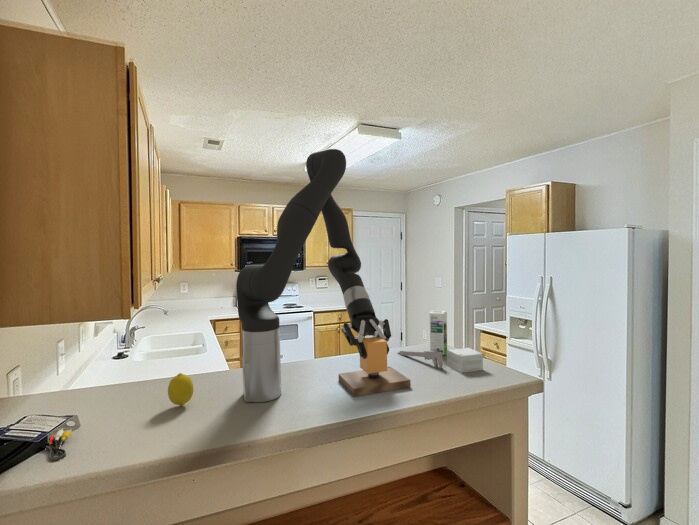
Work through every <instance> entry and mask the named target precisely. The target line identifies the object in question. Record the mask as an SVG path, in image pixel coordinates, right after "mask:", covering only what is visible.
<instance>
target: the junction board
mask: <svg viewBox="0 0 699 525" xmlns="http://www.w3.org/2000/svg"><path fill="white" fill-rule="evenodd" d="M339 381H340V382H339ZM338 382H339V383H340V384H341V385H342V386H343V387H344V388H345V389H346V390H347V391H348V392H349V393H350V395H352V397H354V398H357V397H361V396H367V395H373V394H379V393H385V392H391V391H396V390H403V389H407V388H411V387H412V386H411V384H412V383H411V379H410V378H409V377H408V376H406V375H404V374H403V373H401V372H399V371H397V369H394V368H393V367H391V365H390V366H387V371H383V372H379V378H376V379H371V378H368V373H366V372H365V371H364V370H363V369H360V370H356V371H348V372H343V373H342V372H341V373H338Z"/></svg>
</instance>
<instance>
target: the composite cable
mask: <svg viewBox="0 0 699 525" xmlns="http://www.w3.org/2000/svg"><path fill="white" fill-rule="evenodd" d="M72 430H73V429H71V428H70V430H69V429H68V430H66V431H64V428H61V429H59V430H57V431H56V433H55V434H53V436H51V438H50V440H49V445H46V450H45V451H47V452H49V453H50V454H49V459H50V460H51V462H58V461H60V459H61V460H64V459H65V458H66V457H67V453H66V450H65V449H64V448H61V447H60V445H61V443H62V442H63V443H64V441H65V440H68V439H69V437H71V435H72ZM63 443H62V444H63ZM59 447H60V449H59ZM57 453H58V455H59V456H55V455H54V454H57ZM60 454H61V455H60ZM64 457H65V458H64Z"/></svg>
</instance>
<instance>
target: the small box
mask: <svg viewBox="0 0 699 525" xmlns="http://www.w3.org/2000/svg"><path fill="white" fill-rule="evenodd" d="M446 361H447V362H446V365H447V366H448V367H450V368H452V369H454V370H455V371H457V372H459V373H468V372H477V371H483V370H484V365H483V364H484V356H483V353H482V352H479V351H478V350H474V349H472V348H470V347H463V348H461V347H460V348H451V349H447V355H446Z"/></svg>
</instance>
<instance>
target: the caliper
mask: <svg viewBox="0 0 699 525" xmlns="http://www.w3.org/2000/svg"><path fill="white" fill-rule="evenodd" d="M397 354H399V355H400V354H401V355H400V356H407V357H419V358H424V361H425V360H426V361H428V360H429V361H430V360H431V361H432V364H433V366H434V368H438V369H440V370H441V369H442V368H443V367H444V365H443V363H444V362H443V355H442V353H441V352H440V350H439V348H434V351H430V350H423V351H415V350H399V351H398V352H397Z"/></svg>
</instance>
